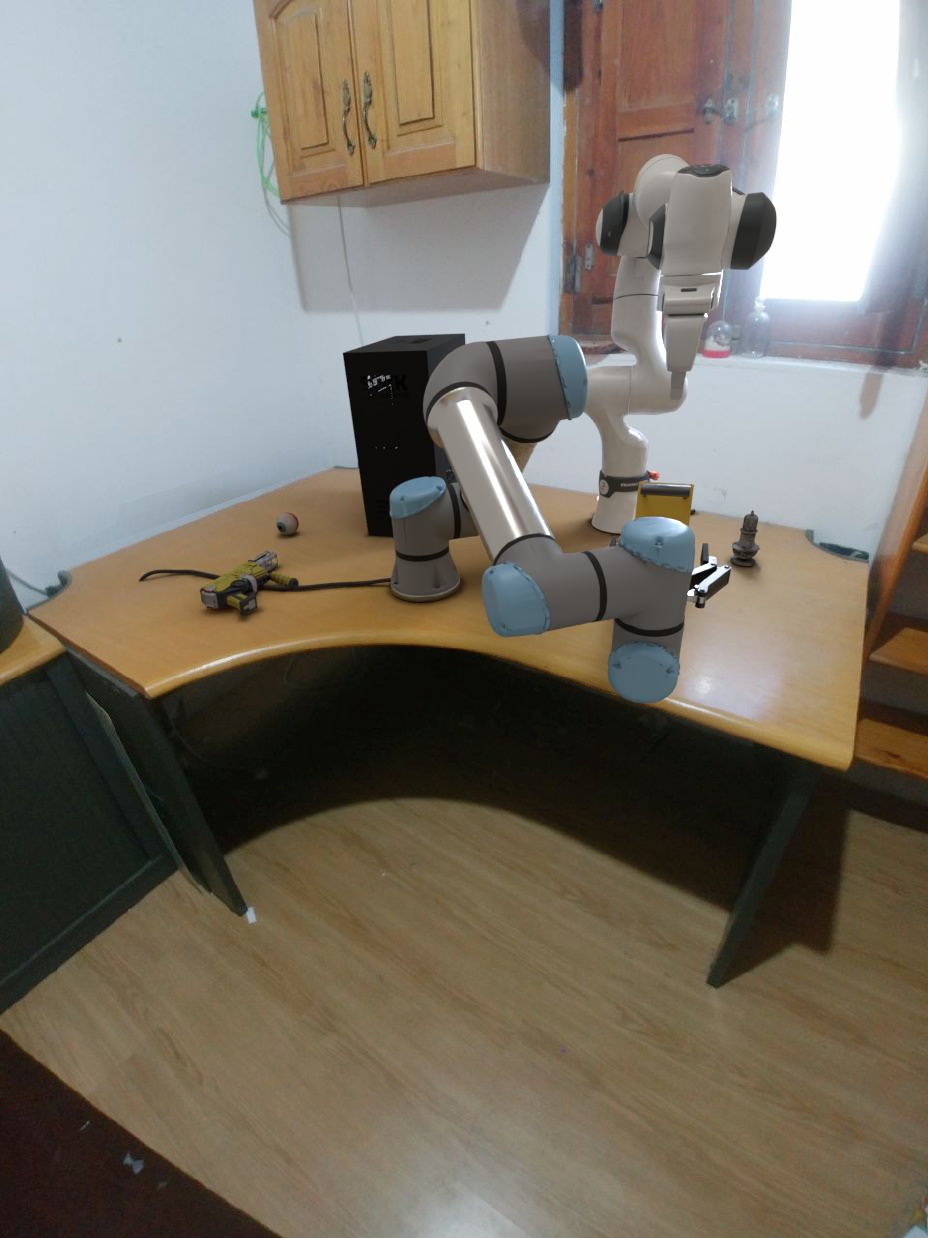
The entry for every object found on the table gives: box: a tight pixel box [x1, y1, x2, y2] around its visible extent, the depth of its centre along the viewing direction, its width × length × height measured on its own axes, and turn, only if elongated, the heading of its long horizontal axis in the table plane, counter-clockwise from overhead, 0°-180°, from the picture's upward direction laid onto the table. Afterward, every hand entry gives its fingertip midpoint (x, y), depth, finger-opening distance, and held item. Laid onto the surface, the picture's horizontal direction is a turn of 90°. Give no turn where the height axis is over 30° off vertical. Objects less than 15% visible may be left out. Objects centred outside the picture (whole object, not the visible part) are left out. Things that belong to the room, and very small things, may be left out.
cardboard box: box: [342, 333, 466, 537], centre depth 164 cm, size 38×20×45 cm, turn 167°
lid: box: [635, 481, 695, 527], centre depth 103 cm, size 16×9×9 cm
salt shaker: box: [729, 509, 761, 567], centre depth 133 cm, size 6×6×12 cm
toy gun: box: [199, 550, 300, 616], centre depth 135 cm, size 5×24×15 cm
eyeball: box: [275, 511, 300, 536], centre depth 163 cm, size 6×6×6 cm
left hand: (657, 547), depth 94 cm, fingers open, 13 cm apart
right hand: (676, 393), depth 98 cm, fingers open, 8 cm apart
